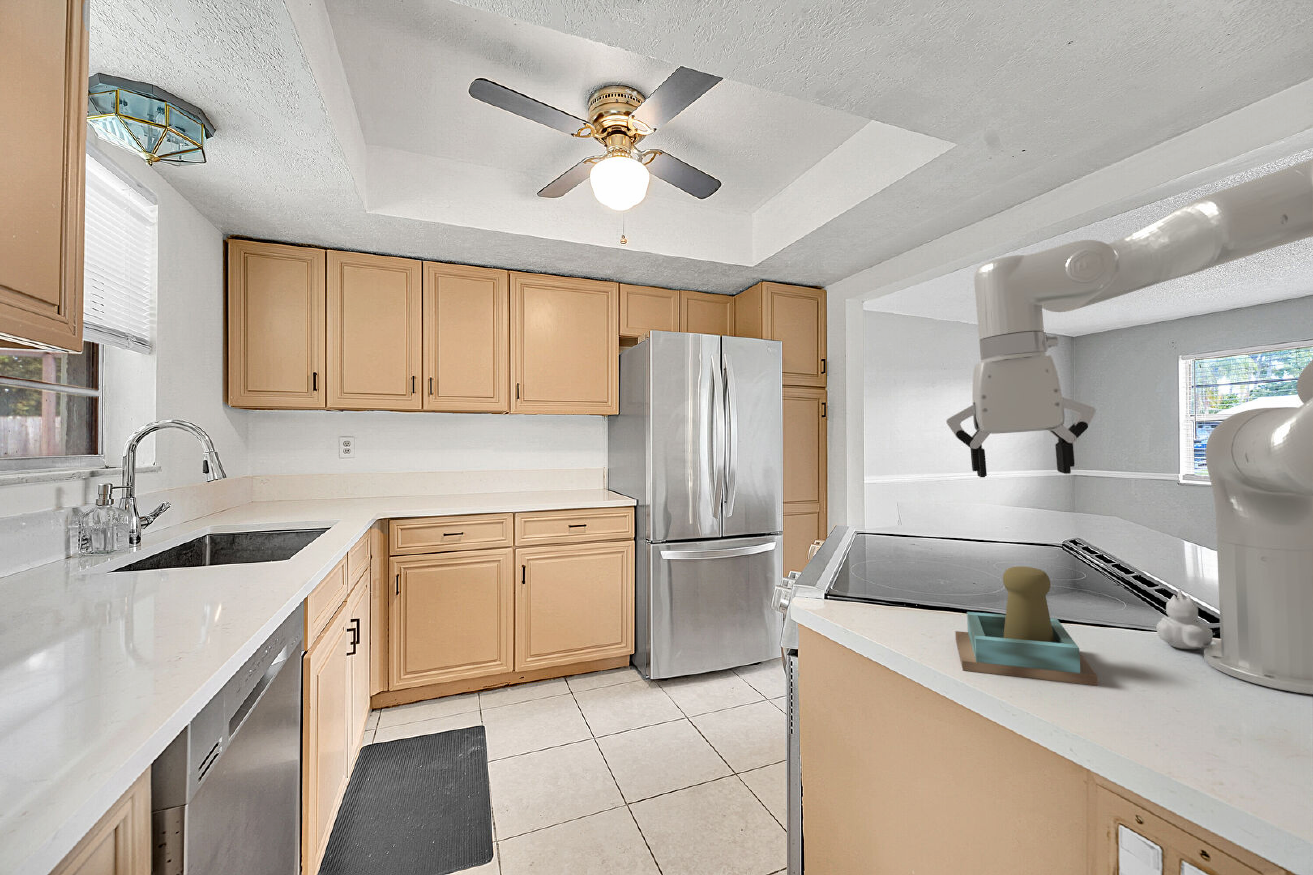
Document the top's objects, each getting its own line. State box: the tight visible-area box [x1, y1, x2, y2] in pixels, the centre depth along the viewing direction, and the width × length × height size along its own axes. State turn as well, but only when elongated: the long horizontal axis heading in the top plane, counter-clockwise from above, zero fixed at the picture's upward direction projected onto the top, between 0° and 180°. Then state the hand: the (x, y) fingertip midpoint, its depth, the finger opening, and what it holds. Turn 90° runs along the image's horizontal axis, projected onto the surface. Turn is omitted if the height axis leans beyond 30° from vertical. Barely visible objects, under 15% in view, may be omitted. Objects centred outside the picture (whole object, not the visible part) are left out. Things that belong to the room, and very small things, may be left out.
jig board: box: [954, 611, 1098, 686], centre depth 74 cm, size 14×11×4 cm
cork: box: [1002, 566, 1055, 643], centre depth 73 cm, size 6×6×11 cm
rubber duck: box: [1156, 587, 1214, 650], centre depth 74 cm, size 5×7×8 cm
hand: (1022, 474), depth 76 cm, fingers open, 9 cm apart
